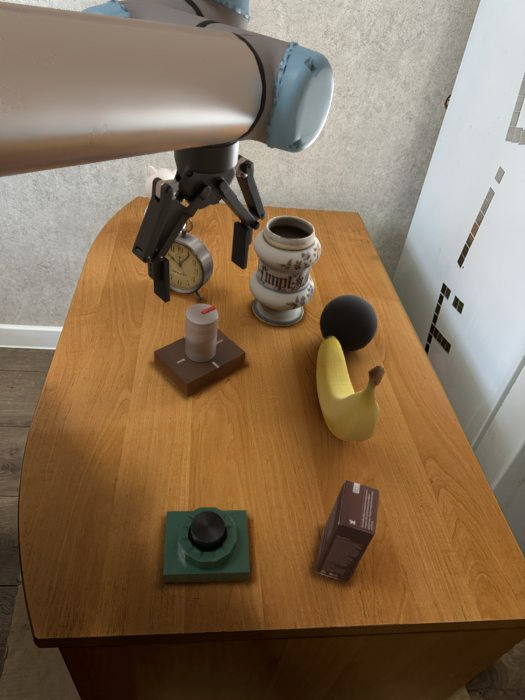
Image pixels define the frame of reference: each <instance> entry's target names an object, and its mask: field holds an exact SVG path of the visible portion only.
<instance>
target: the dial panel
mask: <svg viewBox="0 0 525 700" xmlns="http://www.w3.org/2000/svg"><path fill="white" fill-rule="evenodd" d="M246 356H247V352H246V351H245V350H244V349H243V348H241V347H240V346H239V345H238V344H237V343H236V342H234V341H233V339H231V338H230V337H229V336H227V335H226V334H225V333H224V332H223V331H222V330H220V328H217V343H216V354H215V356H214V357H213V358H212V359H211V360H209V361H206V362H196V361H193V360H191V359H189V358H188V357H187V355H186V353H185V334H184V335H182V337H180V338H178V339H176V340H175V341H172V342H170V343H168V344H166V345H163V346H162V347H160V348H158V349H156V350H154V351H153V358H154V359H153V360H154V365H155V367H157V369H158V370H159V371H161V373H162V374H163V375H165V376H166V377H167V379H169V380H170V381H171V383H173V384H174V385H175V386H176V388H178V389H179V390H180V391H181V393H183V394H184V395H185V396H186V397H190V396H192V395H193V394H195V393H196V392H199V391H200V390H202V389H204V388H206V387H207V386H209V385H211V384H213V383H215V382H217V381H218V380H220V379H222V378H224V377H226V376H227V375H229V374H231V373H233V372H235V371H236V370H238V369H240V368H242V367H243V366H245V363H246Z"/></svg>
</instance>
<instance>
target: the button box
mask: <svg viewBox="0 0 525 700" xmlns="http://www.w3.org/2000/svg"><path fill="white" fill-rule="evenodd" d="M204 511H213V512H216V513H218V514H219V515H220V516H221V517H222V518H223V520H224V522H225V535H224V540H223V542H222V543H221V545H220V546H219V547H217V548H216V549H214V550H210V551H204V550H201V549H199V548H197V547H196V546H195V545H194V544H193V543H192V540H191V523H192V520H193V519H194V517H195V516H196V515H198V514H199V513H201V512H204ZM247 513H248V512H247V510H246V509H235V510H232V509H231V510H230V509H227V510H226V509H225V510H223V509H220V508H219V507H216V506H200V507H197V508H195V509H194V510H167V511H166V515H165V517H166V519H165V534H164V535H165V536H164V551H163V554H164V555H163V569H162V581H163V582H162V583H163V584H167V583H168V584H169V583H171V584H172V583H198V582H199V583H200V582H201V583H202V582H205V583H206V582H230V581H231V582H236V581H249V579H250V575H251V562H250V561H251V560H250V548H249V547H250V546H249V545H250V544H249V532H248V530H249V528H248V516H247V515H248V514H247Z"/></svg>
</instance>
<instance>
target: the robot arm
mask: <svg viewBox="0 0 525 700" xmlns="http://www.w3.org/2000/svg"><path fill="white" fill-rule="evenodd" d="M250 20H251V16H250V0H107V1H106V2H104V3H100V4H96V5H92V6H89V7H86V8H84V9H83V10H81V11H79V10H78V11H77V10H70V9H61V8H55V7H48V6H39V5H32V4H24V3H17V2H16V3H15V2H10V1H9V2H8V1H0V178H5V177H6V178H7V177H11V176H18V175H24V174H31V173H38V172H43V171H51V170H58V169H63V168H70V167H77V166H84V165H89V164H95V163H96V164H97V163H103V162H111V161H116V160H121V159H129V158H135V157H141V156H148V155H154V154H155V155H156V154H161V153H167V152H173V158H174V162H175V166H176V168H177V172H176V175H175V177H174V179H171V180H162V179H161V178H159V177H156V178H154V180H153V182H152V196H151V199H149V202H148V205H147V206H148V207H147V206H146V208H147V210H146V209H145V210H146V213H145V212H144V213H145V216H144V215H143V219H142V221H141V224H140V227H139V229H138V232H137V235H136V238H135V241H134V243H133V246H132V248H131V253H132V254H133V255H134V256H136V257H137V258H138V259H139V260H140V261H141V262H143V263H144V264H147V275H148V277H149V278H150V279H151V280H152V281H153V293H154V294H155V295H156V296H157V297H158V298H159V299H160V300H162V301H163V302H164V303H165V304H167V303H169V302H171V289H170V269H169V260H168V259H167V258H166V257H165V256H166V254H167V253H168V251H169V249H170V248H171V246H172V245H173V243H174V241H175V240H176V238H177V237H178V235H179V233H180V232H181V230H182V228H183V227H184V225H185V224H186V225H187V222H188V221H189V220H188V219H189V218H190V219H191V218H193V217H194V216H195V215H196V213H197V212H198V211H199V210H203V209H206V208H207V207H209V206H216V205H218V204H220V201H223V203H225V205H226V206H227V207H228V208H229V209H230V210H231V212H232V213H233V214H234V216H236V218H237V219H238V220H237V221H233V232H232V244H231V256H230V260H231V261H230V262H232V263H233V264H234V265H236V266H237V267H238V268H240V269H241V270H246V269H248V259H249V249H250V245H251V244H252V242H253V234H254V231H257V230H259V228H260V226H261V223H260V221H263V220H265V218H266V217H267V211H266V208H265V206H264V203H263V200H262V197H261V194H260V191H259V188H258V184H257V182H256V179H255V163H254V162H253V161H252V160H250V159H248V158H247V157H245V156H243V155H241V154H239V148H240V142H243V141H254V142H259V143H261V144H263V145H266V147H267V148H269V149H272V150H273V149H277V150H281V151H285V152H288V153H292V154H295V153H296V154H297V153H301V152H303V151H305V150H306V149H308V148H309V147H310V146H311V145H312V144H313V143H314V142H315V141H316V140H317V138H318V137H319V135H320V133H321V131H322V130H323V127H324V125H325V123H326V121H327V118H328V114H329V112H330V109H331V104H332V101H333V97H334V96H333V95H334V86H335V79H334V78H335V77H334V71H333V68H332V65H331V62H330V61H329V59H328V58H327V57H326V56H325V54H323V53H321V52H319V51H316V50H313V49H310V48H308V47H305V46H302V45H300V44H299V43H298V42H297V41H285V40H282V39H278V38H275V37H272V36H268V35H265V34H261V33H258V32H254V31H251V30H248V29H249V22H250ZM234 179H236V181H237V184H238V187H239V189H240V191H241V194H242V197H243V199H244V202H245V204H246V206H245V205H244V204H243V202H242V201H241V199H239V198H238V194H236V192H235V191H234V190H233V189H232V188H231V184H232V183H233V181H234ZM175 192H176V193H175ZM174 194H175V195H174ZM183 201H185V202H186V203H187V204H188V205H187V206H186V205H185V204H183ZM246 207H247V208H246ZM259 220H260V221H259ZM156 249H158V250H156Z"/></svg>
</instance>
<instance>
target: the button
mask: <svg viewBox="0 0 525 700" xmlns="http://www.w3.org/2000/svg"><path fill="white" fill-rule="evenodd" d="M224 535H225V522H224V520H223V518H222V517H221V516H220V515H219V514H218V513H216V512H213V511H204V512H201V513H199V514H198V515H196V516H195V517H194V519H193V520H192V523H191V540H192V543H193V544H194V545H195V546H196V547H197V548H199V549H201V550H204V551H210V550H214V549H216V548H217V547H219V546H220V545H221V543H222V542H223V540H224Z"/></svg>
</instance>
